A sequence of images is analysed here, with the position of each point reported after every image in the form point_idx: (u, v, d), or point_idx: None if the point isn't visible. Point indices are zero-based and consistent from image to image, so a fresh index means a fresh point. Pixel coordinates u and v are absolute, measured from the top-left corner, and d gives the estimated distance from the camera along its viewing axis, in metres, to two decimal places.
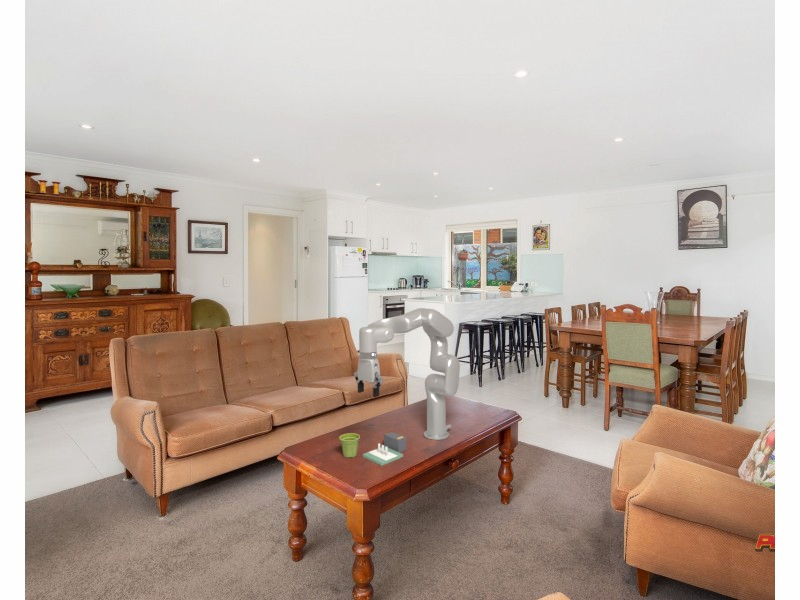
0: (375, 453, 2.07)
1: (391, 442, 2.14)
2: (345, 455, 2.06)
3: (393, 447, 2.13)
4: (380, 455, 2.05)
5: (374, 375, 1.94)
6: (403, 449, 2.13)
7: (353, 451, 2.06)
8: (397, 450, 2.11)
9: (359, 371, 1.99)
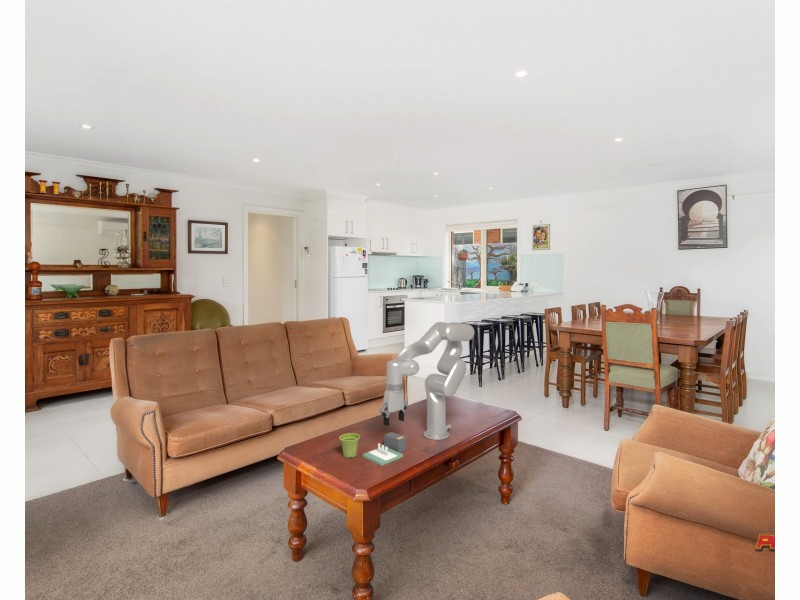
0: (375, 453, 2.07)
1: (391, 442, 2.14)
2: (345, 455, 2.06)
3: (393, 447, 2.13)
4: (380, 455, 2.05)
5: None
6: (403, 449, 2.13)
7: (353, 451, 2.06)
8: (397, 450, 2.11)
9: (392, 404, 2.10)
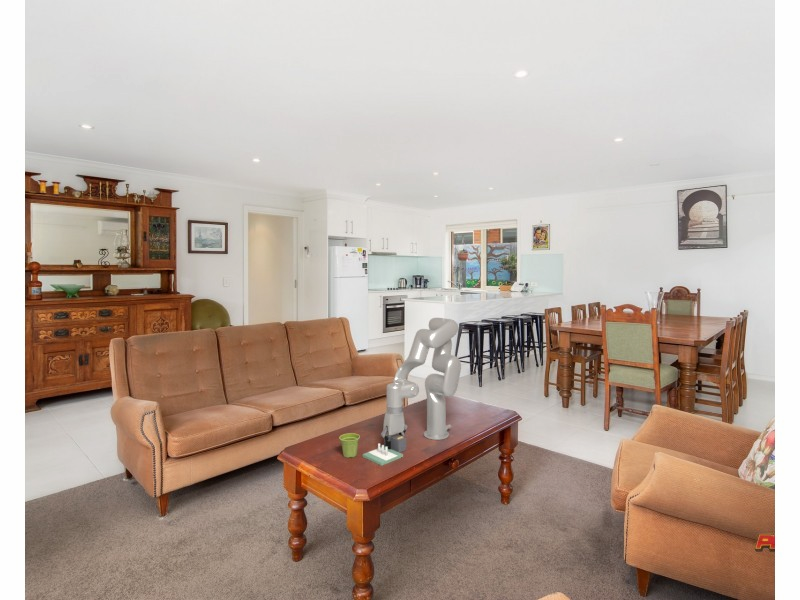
0: (375, 453, 2.07)
1: (391, 442, 2.14)
2: (345, 455, 2.06)
3: (393, 447, 2.13)
4: (380, 455, 2.05)
5: None
6: (403, 449, 2.13)
7: (353, 451, 2.06)
8: (397, 450, 2.11)
9: (392, 427, 2.11)
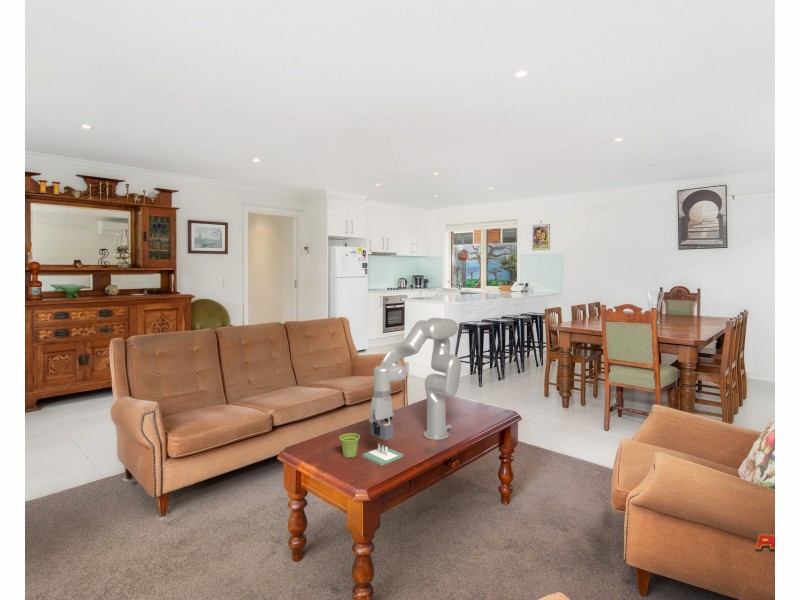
0: (375, 453, 2.07)
1: None
2: (345, 455, 2.06)
3: None
4: (380, 455, 2.05)
5: None
6: (390, 436, 2.02)
7: (353, 451, 2.06)
8: (384, 437, 2.01)
9: (380, 411, 2.01)
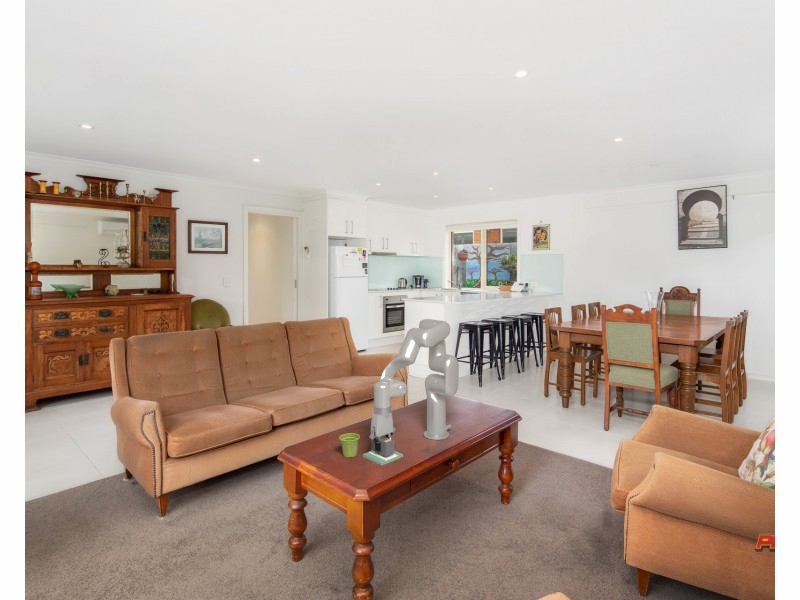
0: (375, 453, 2.07)
1: None
2: (345, 455, 2.06)
3: None
4: (380, 455, 2.05)
5: None
6: (391, 452, 2.03)
7: (353, 451, 2.06)
8: (384, 453, 2.02)
9: (380, 428, 2.02)
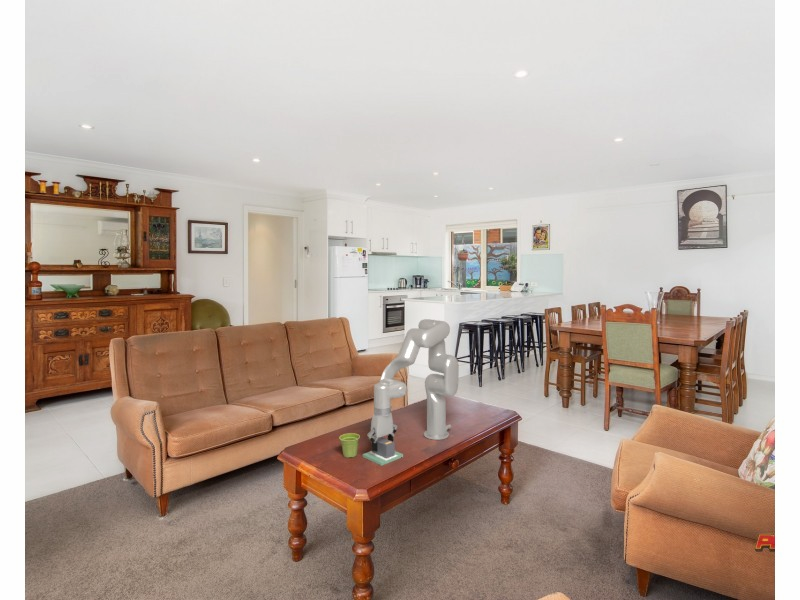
0: None
1: (379, 447, 2.05)
2: (345, 455, 2.06)
3: (381, 452, 2.04)
4: None
5: None
6: (391, 455, 2.04)
7: (353, 451, 2.06)
8: (385, 456, 2.02)
9: (380, 429, 2.02)
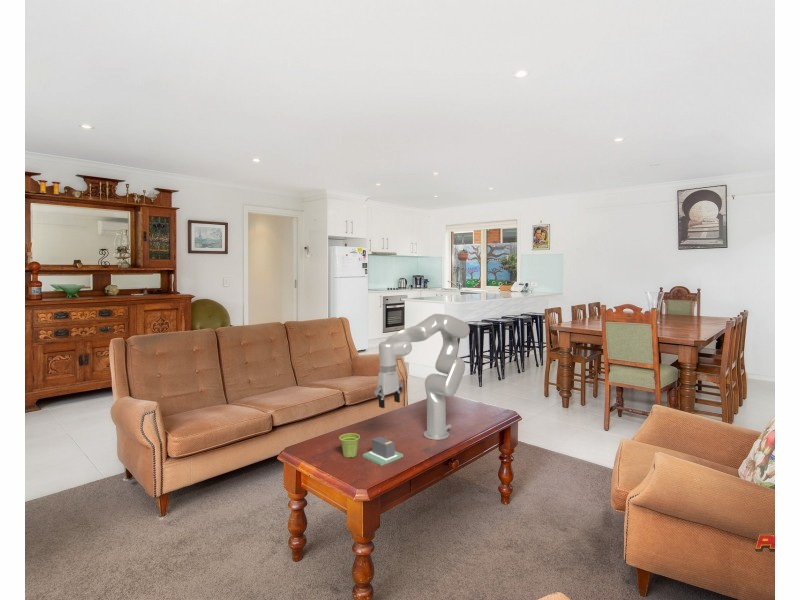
0: None
1: (379, 447, 2.05)
2: (345, 455, 2.06)
3: (381, 452, 2.04)
4: None
5: None
6: (391, 455, 2.04)
7: (353, 451, 2.06)
8: (385, 456, 2.02)
9: (387, 386, 2.06)
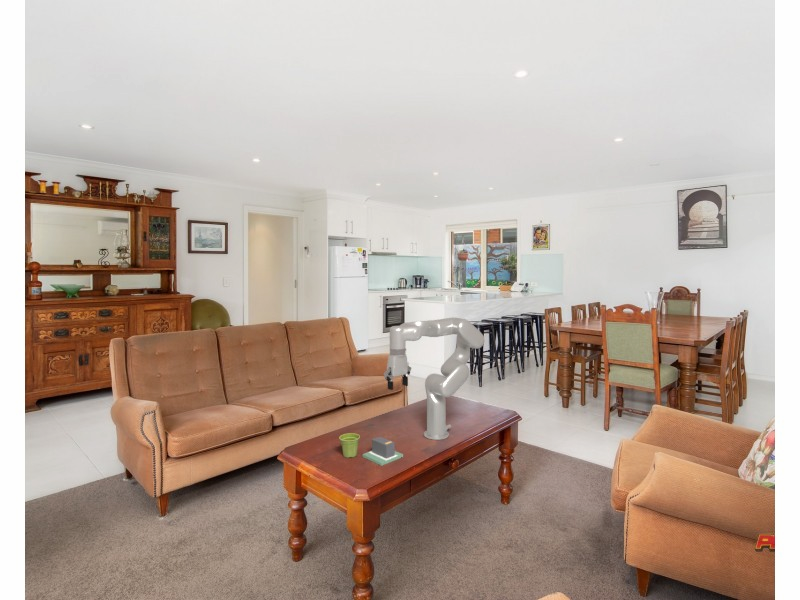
0: None
1: (379, 447, 2.05)
2: (345, 455, 2.06)
3: (381, 452, 2.04)
4: None
5: None
6: (391, 455, 2.04)
7: (353, 451, 2.06)
8: (385, 456, 2.02)
9: (396, 368, 2.14)
